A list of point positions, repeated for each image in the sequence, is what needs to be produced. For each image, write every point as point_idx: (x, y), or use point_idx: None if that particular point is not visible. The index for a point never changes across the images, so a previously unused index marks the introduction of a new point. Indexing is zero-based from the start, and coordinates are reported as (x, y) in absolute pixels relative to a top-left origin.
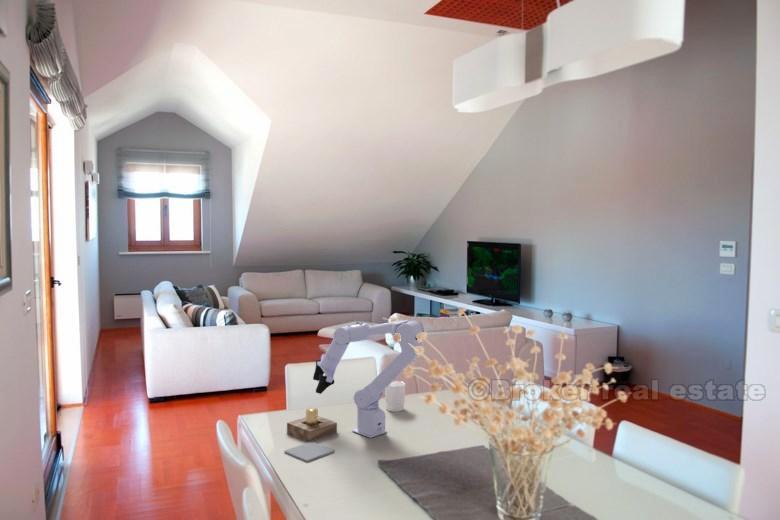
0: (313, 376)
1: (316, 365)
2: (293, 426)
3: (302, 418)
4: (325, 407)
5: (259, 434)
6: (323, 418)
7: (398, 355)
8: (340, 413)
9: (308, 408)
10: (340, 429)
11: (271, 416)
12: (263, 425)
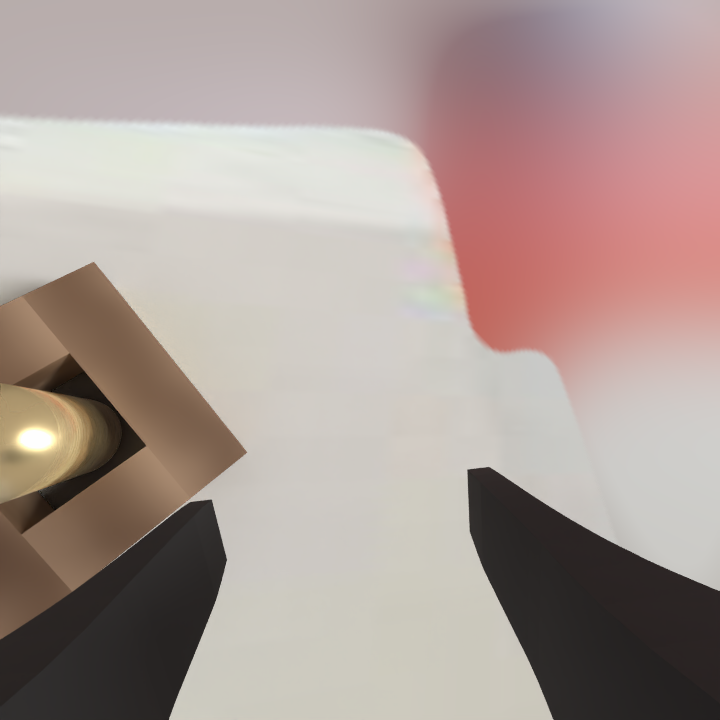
0: (502, 477)
1: (679, 637)
2: (20, 301)
3: (172, 371)
4: None
5: (124, 146)
6: (137, 527)
7: None
8: (411, 598)
9: (46, 408)
10: None
11: (395, 242)
12: (271, 189)
